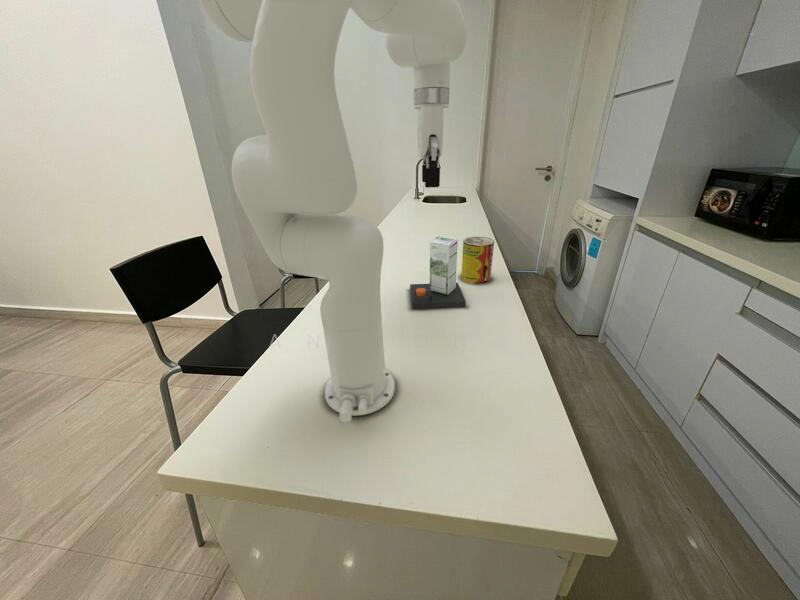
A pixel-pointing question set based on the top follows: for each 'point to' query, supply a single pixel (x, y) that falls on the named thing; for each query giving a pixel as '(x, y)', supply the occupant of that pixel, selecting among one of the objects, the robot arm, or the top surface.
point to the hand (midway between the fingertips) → (430, 184)
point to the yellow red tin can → (477, 259)
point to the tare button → (421, 292)
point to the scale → (436, 298)
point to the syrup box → (443, 264)
